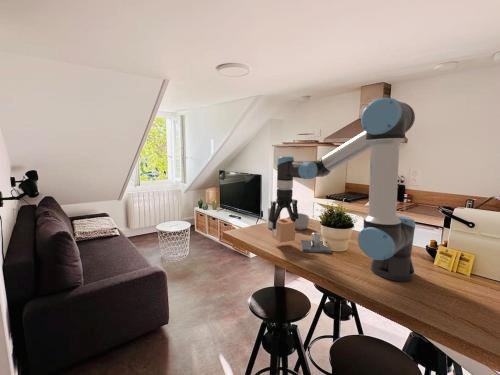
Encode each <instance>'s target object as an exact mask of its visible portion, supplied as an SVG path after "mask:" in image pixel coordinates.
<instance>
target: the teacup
mask: <svg viewBox="0 0 500 375" xmlns="http://www.w3.org/2000/svg"><path fill="white" fill-rule="evenodd" d="M286 218H287V219H289V220H290V216H289V215H288V216H286ZM309 220H310V216H309V215H308V214H305V213H300V212H298V219H296V221H295V230H300V231H302V230H305V229H306V228H308V226H309Z"/></svg>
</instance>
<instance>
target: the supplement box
mask: <svg viewBox="0 0 500 375" xmlns="http://www.w3.org/2000/svg"><path fill="white" fill-rule="evenodd" d="M276 209H277V205H276ZM276 209H275V212H276ZM270 210H271V205H268V207H267V229H272V222H270V221H269V215H270ZM278 219H281V214H280V215H279V217H278Z"/></svg>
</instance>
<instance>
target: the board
mask: <svg viewBox="0 0 500 375" xmlns="http://www.w3.org/2000/svg"><path fill="white" fill-rule="evenodd" d="M321 235H322V234H321V232H313V231H312V232H311V240H308V239H301V240H300V244H301V245H300V246H301V250H302V252H303V253H305V252H306V253H318V254H319V253H322V254H332V250H331V247H330V246H329V247H330V248H329V247H326V246H324V245H323V240H321Z"/></svg>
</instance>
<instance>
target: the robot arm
mask: <svg viewBox="0 0 500 375" xmlns="http://www.w3.org/2000/svg"><path fill="white" fill-rule="evenodd" d="M415 114H416V113H415V111H414V109H413V107H412V106H411V105H409V104H408V103H406V102H404V101H403V102H401V101H399V100H397V99H396V98H392V97H380V98H377V99H374V100H372V101H371V102H369V103H368V104H367V106H365V107H364V109H363V111H362V114H361V116H360V123H361V128H362V129H363V131H362V132H360V133H359V134H357V135H355V136H354V137H352V138H350V139H349V140H347V141H346V142H344V143H342V144H341V145H340V146H337V147H336V148H335V149H333V150H331V151H330V152H328V153H327V154H325V155H324V156H323V157H321V158H319V159H317V160H312V161H311V160H310V161H309V160H307V161H303V160H301V161H300V160H299V161H295V159H294V158H295V157H294V156H286V155H285V156H283V155H282V156H278V158H277V167H276V169H277V170H276V173H277V174H276V175H277V178H276V188H277V189H276V199H275V200H270V206H271V210H270V215H269V221H270V222H272V228H273V229H274V235H275V236H278V223H277V220H278V217H279V215H280V216H281V212H282V211H283V209H286V211H287V213H288V217H289V216H290V218H289V220H291V221H293V222H295V221H296V219H298V213H299V211H298V200H297V199H296V198H295V199H293V189H294V188H293V187H294V178H295V179H303V180H313V179H314V178H318V177H319V178H321V177H326V176H328V175H329V174H330V173H331V171H333V170H336V169H337V168H339V167H340V166H342V165H344V164H346V163H348V162H349V161H352V160H353V159H355V158H357V157H358V156H360V155H362V154H363V153H365V152H367V151H370V155H369V156H370V158H369V160H370V161H369V162H370V163H369V188H368V214H366V216H364V217H363V229H362V230H360V232H359V234H358V235H357V236H358V237H357V245H358V247H359V248H360V249H359V250H361V251H362V252H363V254H364V255H366V256H367V258H370V259H372V260H371V263H370V270H371V271H372V272H373V274H375V275H377V276H378V277H381V278H383V279H385V280H388V281H389V280H390V281H393V282H411V281H413V279H414V278H415V269H414V268H415V267H414V265H413V259H412V252H413V251H412V250H413V242H414V236H415V229H416V221H415V220H414V219H413V218H412V217H408V216H403V215H398V214H397V208H398V207H397V204H398V185H399V184H398V182H399V181H398V180H399V161H400V160H399V159H400V145H401V144H402V143H403V142H404V141H405V140H406V133H407V132H408V131H410V129H411V128H412V127H413V125H414V124H415V120H416V115H415ZM276 206H277V209H276ZM275 209H276V212H275Z"/></svg>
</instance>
